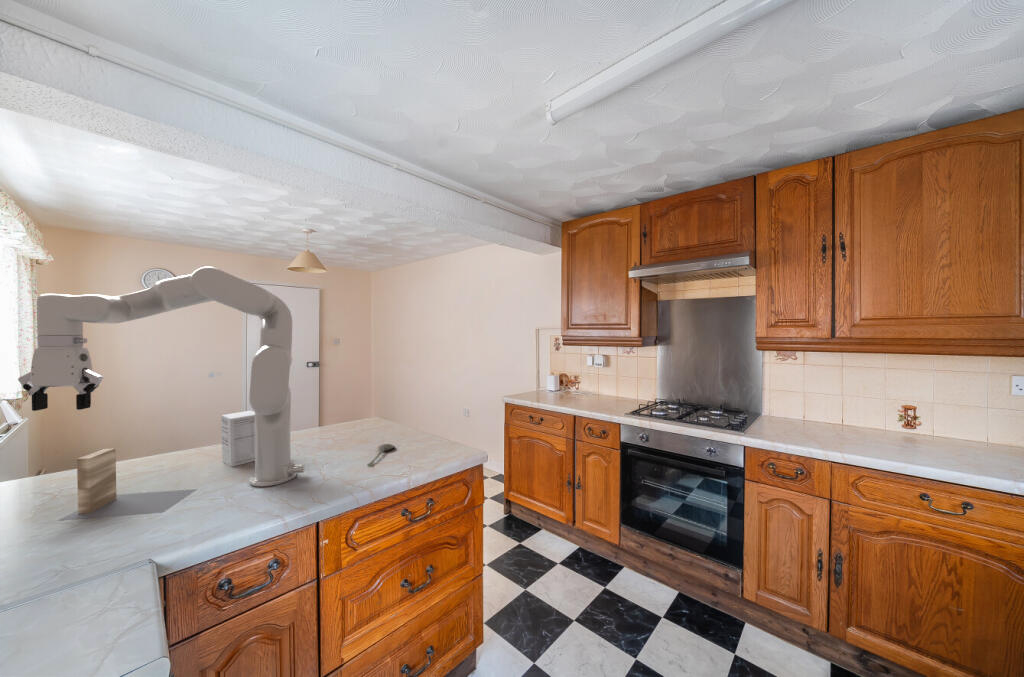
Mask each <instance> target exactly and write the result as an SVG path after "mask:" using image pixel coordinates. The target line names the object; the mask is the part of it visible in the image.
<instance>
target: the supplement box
mask: <svg viewBox="0 0 1024 677" xmlns="http://www.w3.org/2000/svg"><path fill="white" fill-rule="evenodd" d="M220 421H221V423H220V424H221V427H220V428H221V451H222V452H221V453H222V454H221V455H222V460H221V461H222V462H223V463H225V464H226V465H228V466H229V467H231V468H232V467H236V466H237V467H238V466H241V465H245V464H248V463H253V462H255V411H254V410H253V411H252V410H245V411H239V412H234V413H227V414H222V415H221V416H220Z"/></svg>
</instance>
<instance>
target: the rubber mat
mask: <svg viewBox="0 0 1024 677" xmlns="http://www.w3.org/2000/svg"><path fill="white" fill-rule="evenodd" d="M197 490H198V488H195V489H182V490H179V489H178V490H167V491H166V490H165V491H152V492H151V491H149V492H135V493H122V494H121V493H120V494H116V498H117V499H115V500H113V501H111V502H109V503H108V504H106V505H104V506H102V507H100V508H98V509H96V510H94V511H93V512H91V513H81V514H78V509H77V510H75V511H73V512H72V513H70V514H68V515H66V516H63V517H61V518H60V519H57V521H67V520H83V519H94V518H95V519H96V518H108V517H109V518H110V517H119V516H123V517H124V516H134V515H145V514H146V515H147V514H159V513H161V514H162V513H165V512H166V511H167V510H169V509H170V508H172V507H173V506H174V505H176V504H177V503H179V502H180V501H182V500H184V499H185V498H186V497H188V496H189V495H191V494H192V493H194V492H195V491H197Z"/></svg>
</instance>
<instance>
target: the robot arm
mask: <svg viewBox="0 0 1024 677" xmlns="http://www.w3.org/2000/svg"><path fill="white" fill-rule="evenodd" d="M213 301H214V302H216V303H220V304H222V305H224V306H227V307H229V308H233V309H234V310H237V311H239V312H241V313H245V314H247V315H250V316H256V317H258V318H259V319H260V321H261V322H260V323H261V324H260V340H259V348H258V350H257V352H256V353H255V354H254V356H253V358H252V362H251V367H250V368H251V370H250V384H249V397H248V398H249V404H250V407H251V409H252V410H253V412H255V461H254V474H253V475H251V477H249V479H248V483H249V485H250V486H253V487H270V486H277V485H280V484H284V483H286V482H289V481H291V480H293V479H294V478H295V477H296V476H297V474H299V473H304V472H305V469H306V468H305V466H304V465H303V464H295V461H294V460H291V456H292V454H291V404H292V392H291V389H290V387H289V386H290V385H289V383H290V370H291V365H292V361H293V359H292V350H293V349H292V346H293V317H292V313H291V310H290V309H289V307H288V305H287V304H286V303H285V301H283V300H282V299H281V298H280V297H278V296H277V295H275V294H274V293H272V292H270V291H268V290H267V289H265V288H263V287H261V286H258V285H257V284H254V283H251V282H250V281H246V280H244V279H241V278H239V277H237V276H234V275H232V274H230V273H228V272H225V271H224V270H222V269H220V268H217V267H215V266H203V267H200V268H198V269H195V270H194V271H193V272H192V273H191V274H187V275H180V276H177V277H171V278H170V277H169V278H165V279H162V280H159V281H156V282H155V283H154V284H153V285H151V286H150V287H149V288H146V289H143V290H140V291H135V292H131V293H126V294H121V295H115V296H112V295H111V296H110V295H105V294H79V295H78V294H77V295H74V294H73V295H72V294H63V293H61V294H60V293H43V294H40V295H38V296H37V299H36V327H37V329H36V331H37V332H36V333H37V334H36V335H37V338H36V340H37V347H35V348H34V351H33V355H32V358H31V366H30V372H28V373H26V374H24V375H22V376H19V377H18V382H19V383H20V384H21V385H22V388H23V389H24V390H25V391H26V392H27V394H28V395H29V396H31V410H32V412H33V411H34V412H37V411H41V410H47V409H48V407H49V406H48V404H49V403H48V402H49V401H48V399H49V398H48V393H47V392H46V391H47V390H48V389H49V388H52V387H53V388H56V387H57V388H58V387H60V388H62V387H68V388H69V387H73V389H75V390H76V392H78V393H77V394H76V396H75V399H76V400H75V402H76V403H75V405H76V410H79V411H80V410H85V409H89V408H91V404H92V393H94V392H95V390H96V389H97V388H98V387H99V386H100V385H99V384H100V383H101V382H102V381H103V379H104V376H102V375H100V374H98V373H96V372H94V371H93V365H92V359H91V354H90V353H89V352H90V351H89V349H88V347H84V344H86V343H88V339H87V338H85V337H84V323H90V324H121V323H125V322H130V321H131V322H132V321H135V320H138V319H144V318H147V317H152V316H155V315H160V314H163V313H169V312H171V311H173V310H174V311H175V310H178V309H182V308H186V307H187V308H188V307H191V306H195V305H199V304H204V303H209V302H213Z"/></svg>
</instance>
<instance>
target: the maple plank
mask: <svg viewBox="0 0 1024 677" xmlns="http://www.w3.org/2000/svg"><path fill="white" fill-rule="evenodd" d="M116 452H117V450H116V447H115V448H104V449H100V450H98V451H95V452H92V453H89V454H87V455H83V456H81V457H78V458H77V459H76V475H77V476H76V477H77V480H76V481H77V510H78V514H81V513H91V512H93V511H94V510H96V509H98V508H100V507H102V506H104V505H106V504H108V503H109V502H111V501H113V500H115V499H117V498H116V495H117V462H116V460H117V459H116V458H117V457H116Z"/></svg>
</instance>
